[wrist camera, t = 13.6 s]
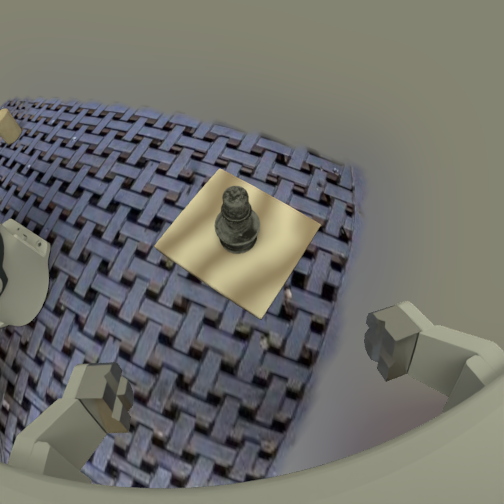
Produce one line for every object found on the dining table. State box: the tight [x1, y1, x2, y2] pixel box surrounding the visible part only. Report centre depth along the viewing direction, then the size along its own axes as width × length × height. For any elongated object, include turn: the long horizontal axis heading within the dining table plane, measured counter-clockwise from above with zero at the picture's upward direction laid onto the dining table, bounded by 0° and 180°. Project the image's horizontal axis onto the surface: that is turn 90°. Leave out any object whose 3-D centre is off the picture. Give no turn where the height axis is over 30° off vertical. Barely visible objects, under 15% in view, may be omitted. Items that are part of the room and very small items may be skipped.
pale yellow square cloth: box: [154, 169, 321, 320], centre depth 42 cm, size 18×16×1 cm
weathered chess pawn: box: [214, 186, 260, 254], centre depth 35 cm, size 6×6×12 cm
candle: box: [0, 109, 22, 145], centre depth 48 cm, size 6×6×10 cm
